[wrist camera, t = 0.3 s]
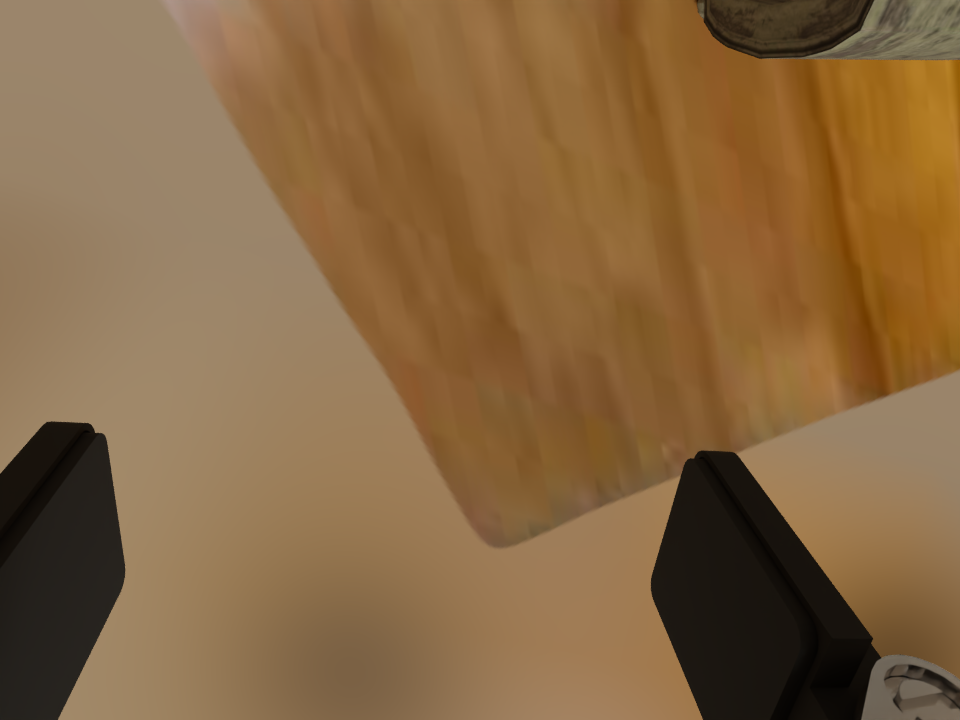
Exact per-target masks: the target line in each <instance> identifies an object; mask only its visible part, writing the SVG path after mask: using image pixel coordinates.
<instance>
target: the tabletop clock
mask: <svg viewBox="0 0 960 720" xmlns="http://www.w3.org/2000/svg"><path fill="white" fill-rule="evenodd" d="M697 7H698V13H699V14H700V15H701V17H702V18H703V19H704V23H705V24H706V26H707V27H708V29H709V31H710V32H711V34H712V36H713V37H714V38H715V39H717V40H718V41H719V42H720V43H722V44H723V45H725V46H726V47H728V48H731V49H734V50H737V51H739V52H742V53H745V54H748V55H751V56H754V57H756V58H759V59H873V60H960V0H698V2H697Z"/></svg>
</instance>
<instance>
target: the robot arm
mask: <svg viewBox="0 0 960 720" xmlns="http://www.w3.org/2000/svg"><path fill="white" fill-rule="evenodd" d="M124 578H125V563H124V555H123V549H122V542H121V535H120V528H119V521H118V514H117V507H116V500H115V494H114V487H113V480H112V473H111V466H110V459H109V452H108V445H107V440H106V437H105V435H104V434H102V433H95V431H94V428H93V427H92V425H91V424H89V423H72V422H46V423H45V424H44V425H43V426H42V427H41V428H40V429H39V430H38V432H36V434H35V435H34V436H33V437H32V438H31V439H30V440H29V442H28V443H27V444H26V445H25V446H24V447H23V449H22V450H21V451H20V452H19V453H18V454H17V455H16V457H15V458H14V459H13V460H12V461H11V462H10V463H9V464H8V466H7V467H6V468H5V469H4V470H3V471H2V473H1V474H0V720H58V718H59V716H60V714H61V712H62V710H63V707H64V706H65V704H66V702H67V700H68V698H69V696H70V694H71V692H72V690H73V688H74V686H75V683H76V681H77V679H78V677H79V675H80V673H81V671H82V669H83V667H84V665H85V663H86V661H87V659H88V657H89V655H90V653H91V651H92V649H93V647H94V645H95V643H96V641H97V639H98V637H99V635H100V632H101V631H102V629H103V627H104V625H105V622H106V621H107V618H108V616H109V614H110V612H111V610H112V608H113V606H114V604H115V602H116V600H117V598H118V596H119V594H120V592H121V589H122V586H123V583H124ZM651 592H652V597H653V600H654V602H655V605H656V607H657V610H658V612H659V615H660V617H661V619H662V622H663V624H664V627H665V629H666V631H667V634H668V636H669V638H670V641H671V643H672V646H673V648H674V650H675V653H676V655H677V658H678V660H679V663H680V665H681V667H682V670H683V672H684V674H685V677H686V679H687V682H688V684H689V687H690V689H691V691H692V694H693V696H694V698H695V701H696V703H697V706H698V708H699V711H700V713H701V715H702V718H703V720H960V680H959V679H958V678H957V677H956V676H954V675H952V674H951V673H949V672H947V671H946V670H944V669H942V668H940V667H939V666H937V665H935V664H932V663H930V662H927V661H925V660H922V659H919V658H916V657H911V656H905V655H890V656H885V657H883V658H881V657H880V655H879V654H878V653H877V651H876V650H875V649H874V647H873V646H872V644H871V642H872V640H873V638H872V636H871V635H870V634H869V632H868V631H867V630H866V628H865V627H864V626H863V624H862V623H861V622H860V620H859V619H858V617H857V616H856V615H855V613H854V612H853V611H852V609H851V608H850V607H849V606H848V604H847V603H846V601H845V600H844V599H843V597H842V596H841V595H840V593H839V592H838V591H837V589H836V588H835V586H834V585H833V584H832V582H831V581H830V580H829V578H828V577H827V576H826V574H825V573H824V572H823V570H822V569H821V567H820V566H819V565H818V563H817V562H816V561H815V560H814V558H813V557H812V555H811V554H810V553H809V551H808V550H807V549H806V547H805V546H804V544H803V543H802V542H801V541H800V539H799V538H798V536H797V535H796V534H795V532H794V531H793V530H792V528H791V527H790V526H789V524H788V523H787V522H786V520H785V519H784V517H783V516H782V515H781V513H780V512H779V511H778V509H777V508H776V507H775V505H774V504H773V503H772V501H771V500H770V498H769V497H768V496H767V495H766V493H765V492H764V490H763V489H762V488H761V486H760V485H759V484H758V482H757V481H756V480H755V478H754V477H753V476H752V474H751V473H750V472H749V470H748V469H747V467H746V466H745V465H744V463H743V462H742V461H741V459H740V458H739V457H738V456H737V455H736V454H735V453H733V452H723V451H699V452H698V453H697V454H696V455H695V458H694V459H691V458H690V459H688V460H687V461H686V462H685V465H684V467H683V471H682V474H681V478H680V481H679V484H678V488H677V491H676V495H675V498H674V502H673V505H672V508H671V512H670V515H669V519H668V522H667V526H666V529H665V532H664V536H663V539H662V543H661V546H660V550H659V553H658V556H657V560H656V563H655V567H654V570H653V574H652V578H651Z"/></svg>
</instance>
